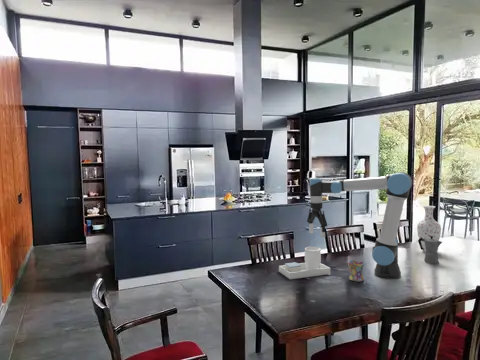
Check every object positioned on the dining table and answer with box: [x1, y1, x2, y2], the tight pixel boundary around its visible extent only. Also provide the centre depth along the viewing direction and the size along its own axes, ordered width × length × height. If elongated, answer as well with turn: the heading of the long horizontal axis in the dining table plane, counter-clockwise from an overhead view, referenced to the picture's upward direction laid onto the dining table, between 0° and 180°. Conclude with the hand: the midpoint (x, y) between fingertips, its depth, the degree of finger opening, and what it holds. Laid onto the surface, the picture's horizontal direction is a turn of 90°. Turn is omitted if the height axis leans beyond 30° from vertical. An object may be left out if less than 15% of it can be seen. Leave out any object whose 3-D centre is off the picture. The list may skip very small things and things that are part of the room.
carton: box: [284, 264, 300, 272], centre depth 217 cm, size 7×7×6 cm
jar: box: [304, 246, 322, 270], centre depth 221 cm, size 11×10×15 cm
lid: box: [284, 261, 301, 268], centre depth 217 cm, size 8×8×1 cm
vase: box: [416, 205, 442, 253], centre depth 267 cm, size 16×16×35 cm
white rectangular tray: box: [278, 262, 331, 280], centre depth 220 cm, size 16×28×4 cm, turn 108°
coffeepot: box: [417, 236, 443, 264], centre depth 241 cm, size 15×9×18 cm, turn 44°
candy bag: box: [346, 259, 365, 282], centre depth 207 cm, size 12×9×11 cm
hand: (317, 235), depth 223 cm, fingers open, 13 cm apart
